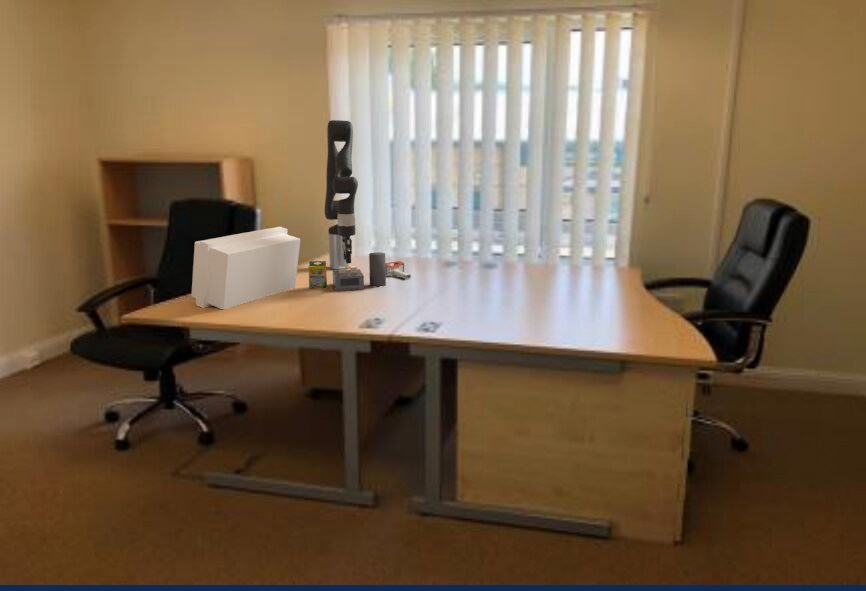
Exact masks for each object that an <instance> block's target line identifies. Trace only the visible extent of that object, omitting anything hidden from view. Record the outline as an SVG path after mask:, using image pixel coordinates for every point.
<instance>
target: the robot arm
mask: <svg viewBox="0 0 866 591" xmlns="http://www.w3.org/2000/svg"><path fill="white" fill-rule="evenodd" d="M326 128H327V129H326V130H327V134H326V135H327V160H326V178H325V179H326V187H325V188H326V190H325V191H326V192H325V199H324V200H325V202H324V215H325V216H324V217H325V218H326V219H327V220H329V221H330V220H331V221H332V220H333V221H334V220H335V221H336V220H337V223H336V224H334V225H332V226H330V227H328V232H327V233H328V252H329V254H328V255H329V256H328V258H329V269H331V270H339V267H350V266H349V264H352V254H353V240H352V238H351V236H352V237H353V236H356V216H355V199H356V195H357V190H358V186H359V182H358V180H357V178H356V177H354V176H352V174H353V162H352V161H353V160H352V154H353V153H352V152H353V137H354V131H353V130H354V129H353V124H352V122H351V121H349V120H340V119H339V120H335V119H333V120H329V121H328V123H327V127H326ZM336 142H338V143H339V142H341V143H344V144H343V147H341V149H340V150H338V148H337V146H336V144H335V143H336ZM337 194H339V195H340V194H341V195H342V194H347V195H348V194H349V196H348V197H346V198H342V199H339V200H338V199H337V200H334V199H335V197H336V195H337Z"/></svg>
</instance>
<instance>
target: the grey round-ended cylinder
mask: <svg viewBox="0 0 866 591" xmlns="http://www.w3.org/2000/svg"><path fill="white" fill-rule="evenodd" d="M385 263H386V253H385V252H376V251H375V252H370V253H368V264H369V286H370V287H373V286H376V287H375V288H378V287H377V286H382V287H386V285H387V282H386V281H387V275H386V269H385Z"/></svg>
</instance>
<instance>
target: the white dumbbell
mask: <svg viewBox="0 0 866 591" xmlns="http://www.w3.org/2000/svg"><path fill="white" fill-rule="evenodd" d="M357 269H358V267H357V266H356V265H352V266H349V267H339V269H338V270H339V273H345V270H350V272H351V273H357Z"/></svg>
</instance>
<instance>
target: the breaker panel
mask: <svg viewBox="0 0 866 591" xmlns="http://www.w3.org/2000/svg"><path fill="white" fill-rule="evenodd" d="M364 279H365V277H364V273H363V272H362V271H361V269H359V268H357V273H351V272H350V269H345V273H339V269H332V285H333V284H334V285H333V287H334V286H335V287H334V289H336V290H342V291H352V290H351V289H361V290H365V280H364ZM336 290H335V291H336Z"/></svg>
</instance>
